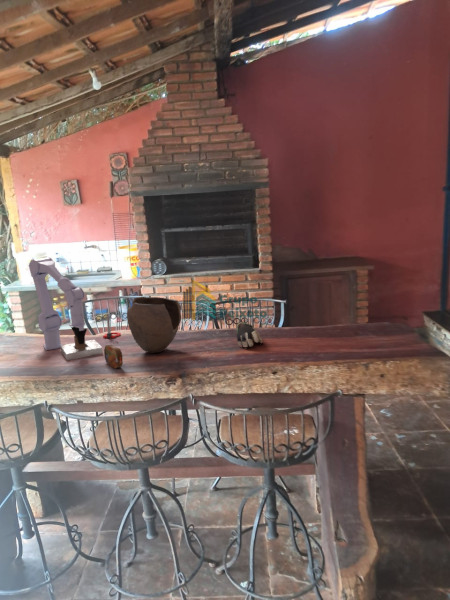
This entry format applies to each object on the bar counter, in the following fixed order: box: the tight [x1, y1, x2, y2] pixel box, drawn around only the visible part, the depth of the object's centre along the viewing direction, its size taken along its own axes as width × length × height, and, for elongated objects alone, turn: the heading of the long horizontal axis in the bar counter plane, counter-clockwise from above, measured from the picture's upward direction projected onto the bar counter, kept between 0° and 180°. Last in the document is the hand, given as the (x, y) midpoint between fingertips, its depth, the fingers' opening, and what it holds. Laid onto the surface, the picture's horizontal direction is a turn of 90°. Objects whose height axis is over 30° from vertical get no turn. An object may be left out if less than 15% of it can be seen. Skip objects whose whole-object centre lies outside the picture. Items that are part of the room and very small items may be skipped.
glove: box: [236, 322, 264, 348], centre depth 215 cm, size 12×10×25 cm
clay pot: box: [126, 296, 182, 354], centre depth 206 cm, size 24×24×25 cm
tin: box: [103, 344, 124, 369], centre depth 191 cm, size 15×3×8 cm, turn 35°
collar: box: [60, 339, 104, 361], centre depth 212 cm, size 16×16×3 cm
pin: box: [73, 335, 86, 349], centre depth 211 cm, size 4×4×8 cm
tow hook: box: [102, 313, 122, 339], centre depth 238 cm, size 8×13×9 cm
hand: (80, 342), depth 211 cm, fingers open, 5 cm apart
